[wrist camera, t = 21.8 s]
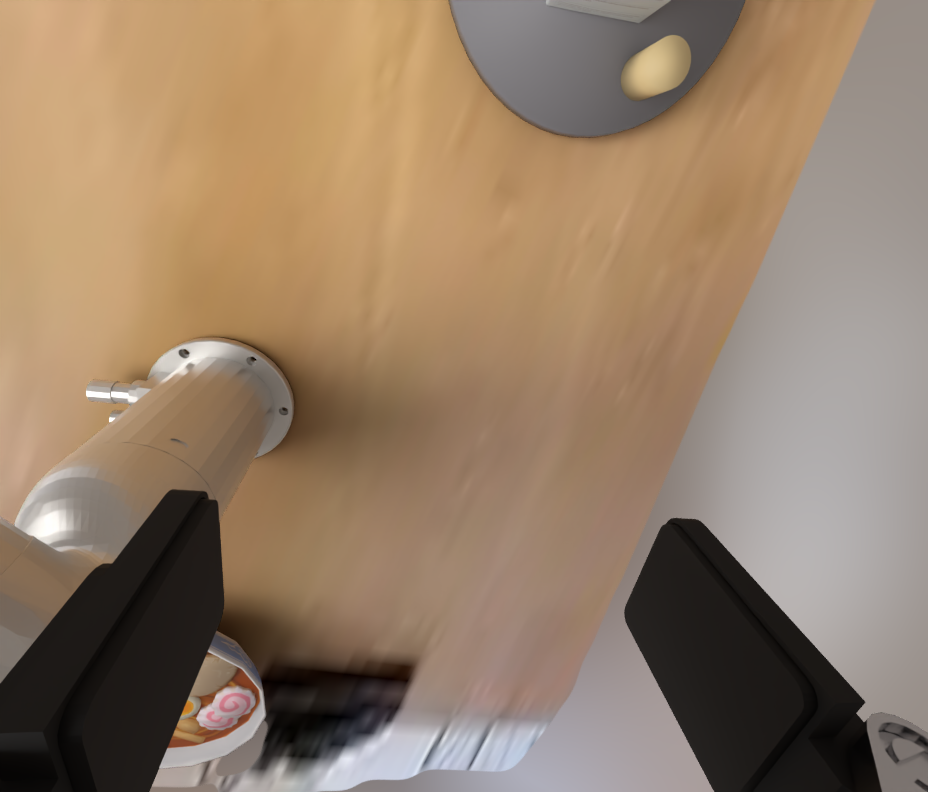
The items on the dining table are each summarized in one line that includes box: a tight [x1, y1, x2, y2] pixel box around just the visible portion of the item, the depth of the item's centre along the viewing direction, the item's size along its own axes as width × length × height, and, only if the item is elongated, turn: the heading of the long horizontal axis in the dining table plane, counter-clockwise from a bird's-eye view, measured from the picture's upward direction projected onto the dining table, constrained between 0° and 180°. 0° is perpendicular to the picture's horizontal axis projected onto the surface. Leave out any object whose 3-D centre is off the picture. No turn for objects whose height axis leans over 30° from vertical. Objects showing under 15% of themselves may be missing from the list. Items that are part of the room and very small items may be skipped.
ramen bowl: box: [159, 631, 266, 769], centre depth 51 cm, size 25×23×8 cm
